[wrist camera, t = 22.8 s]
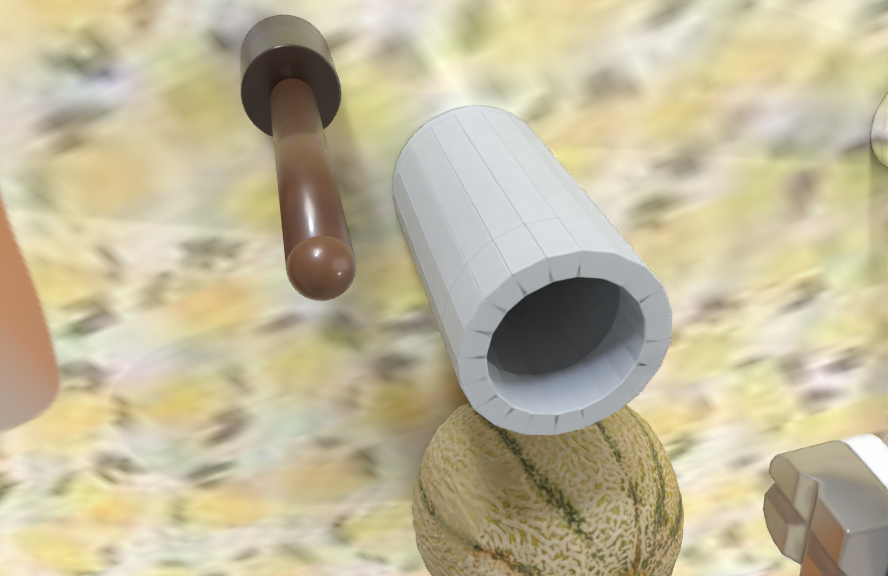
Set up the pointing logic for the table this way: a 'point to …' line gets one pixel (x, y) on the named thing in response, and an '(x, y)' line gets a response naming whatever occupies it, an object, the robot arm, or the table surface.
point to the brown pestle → (300, 148)
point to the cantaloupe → (547, 500)
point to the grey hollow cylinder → (526, 276)
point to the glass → (881, 132)
